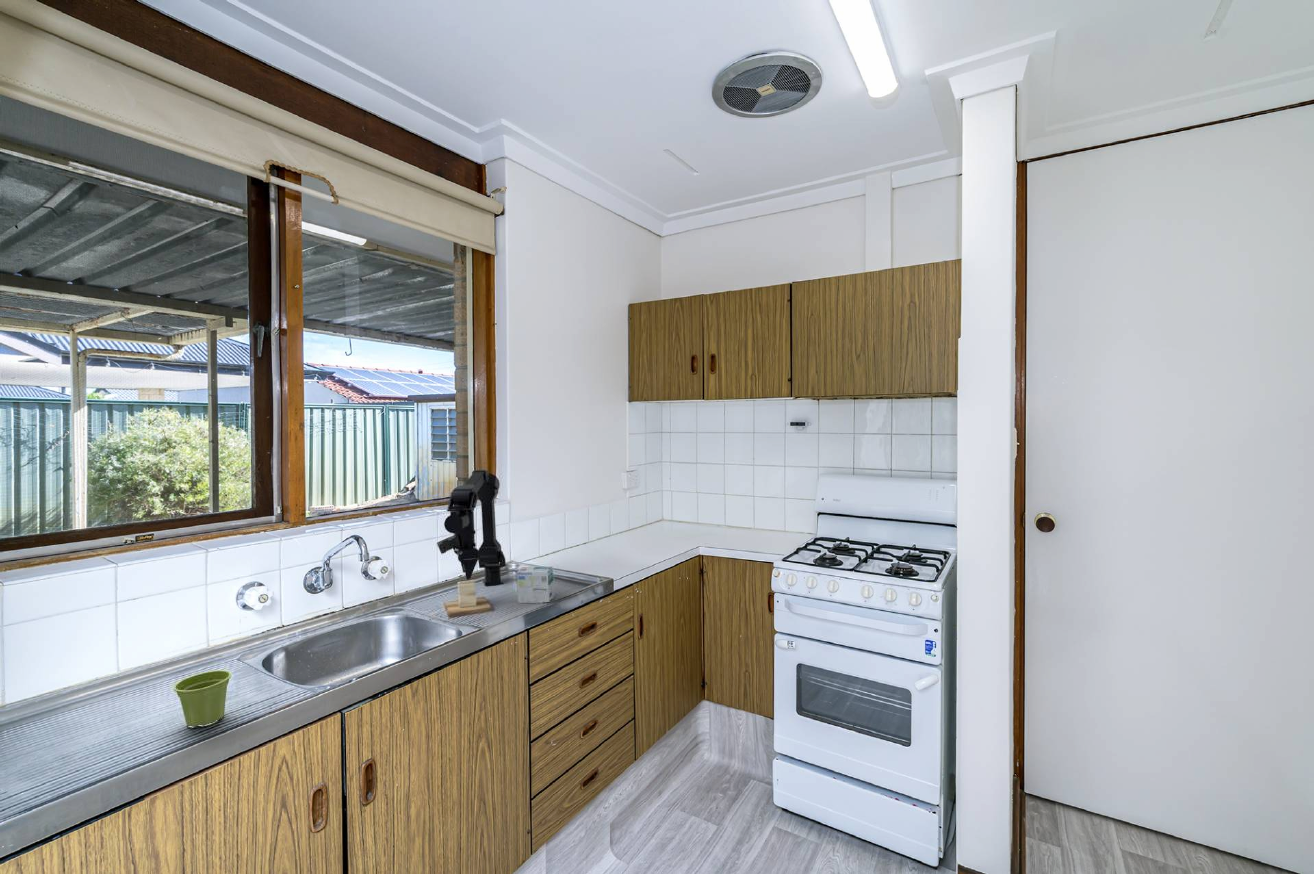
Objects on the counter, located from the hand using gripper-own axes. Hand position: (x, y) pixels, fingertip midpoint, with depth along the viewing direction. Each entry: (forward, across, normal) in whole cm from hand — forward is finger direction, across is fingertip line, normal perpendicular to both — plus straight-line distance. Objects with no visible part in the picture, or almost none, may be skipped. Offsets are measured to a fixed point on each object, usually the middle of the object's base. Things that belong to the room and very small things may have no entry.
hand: (466, 575), depth 188 cm
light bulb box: (+11, +2, +22) cm, 24 cm away
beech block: (+9, 0, 0) cm, 9 cm away
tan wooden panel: (+11, 0, 0) cm, 11 cm away
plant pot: (+11, +49, -57) cm, 76 cm away
